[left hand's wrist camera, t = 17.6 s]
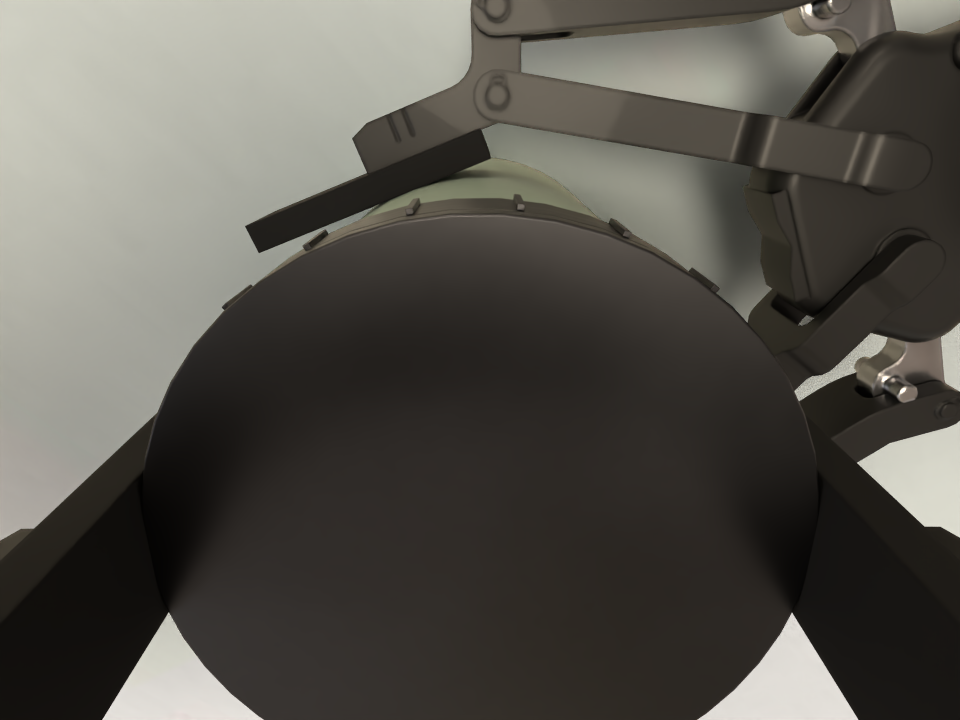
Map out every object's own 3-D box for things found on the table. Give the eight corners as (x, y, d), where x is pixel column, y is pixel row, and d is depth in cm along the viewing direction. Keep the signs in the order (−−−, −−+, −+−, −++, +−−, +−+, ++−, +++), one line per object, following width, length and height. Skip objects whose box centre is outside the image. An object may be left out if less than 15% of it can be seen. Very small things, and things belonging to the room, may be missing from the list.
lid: (374, 776, 15) (362, 854, 13) (53, 372, 11) (-14, 415, 10) (850, 601, 13) (899, 668, 11) (644, 59, 10) (676, 50, 8)
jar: (412, 106, 23) (305, 103, 9) (659, 231, 25) (903, 396, 10) (312, 350, 26) (116, 631, 12) (536, 446, 28) (594, 795, 14)
